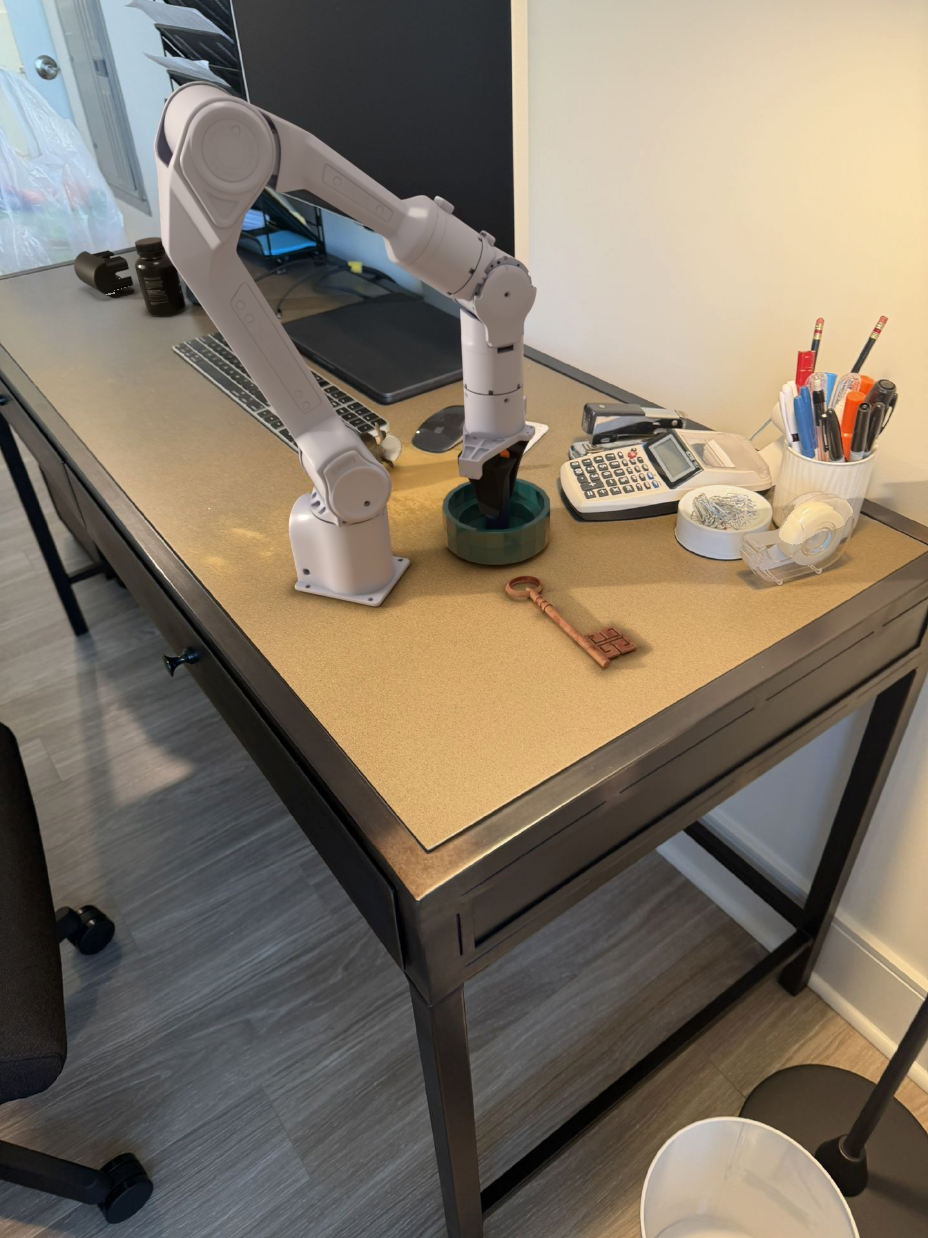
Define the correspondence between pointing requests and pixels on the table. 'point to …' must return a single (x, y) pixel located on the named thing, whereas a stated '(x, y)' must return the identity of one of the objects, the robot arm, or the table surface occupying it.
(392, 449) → the eagle figurine
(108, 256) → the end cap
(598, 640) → the key
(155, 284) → the supplement bottle
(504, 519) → the glue stick
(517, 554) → the bowl
